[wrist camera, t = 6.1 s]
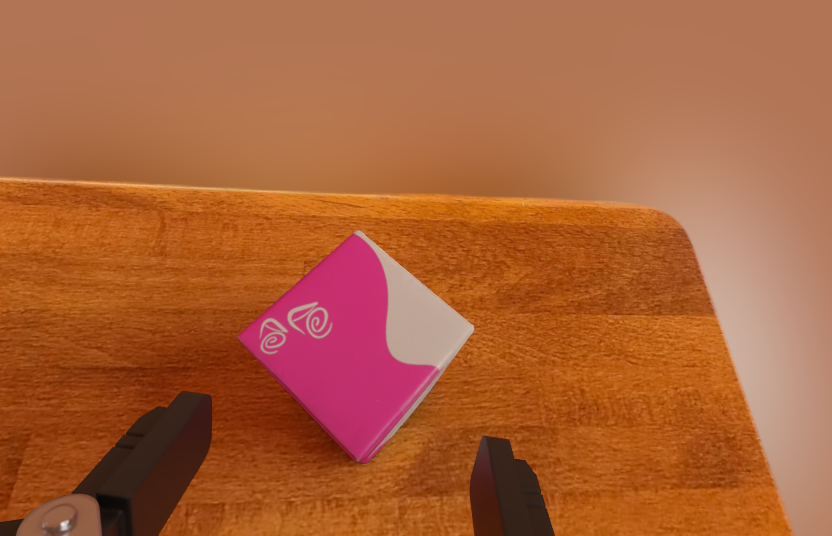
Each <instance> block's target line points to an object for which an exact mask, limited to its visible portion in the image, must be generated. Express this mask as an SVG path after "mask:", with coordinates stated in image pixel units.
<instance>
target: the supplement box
mask: <svg viewBox="0 0 832 536" xmlns="http://www.w3.org/2000/svg"><path fill="white" fill-rule="evenodd" d="M473 331H474V326H473V325H472V324H471V323H469V322H468V321H467V320H466V319H465V318H463V317H462V316H461V315H460V314H459V313H457V312H456V311H455V310H454V309H452V308H451V307H450V306H449V305H448V304H446V303H445V302H444V301H443V300H442V299H440V298H439V297H438V296H437V295H436V294H434V293H433V292H432V291H431V290H429V289H428V288H427V287H426V286H425V285H424V284H422V283H421V282H420V281H419V280H418V279H416V278H415V277H414V276H413V275H411V274H410V273H409V272H408V271H407V270H405V269H404V268H403V267H402V266H401V265H399V264H398V263H397V262H396V261H395V260H394V259H392V258H391V257H390V256H389V255H388V254H387V253H385V252H384V251H383V250H382V249H381V248H380V247H379V246H377V245H376V244H375V243H374V242H373V241H372V240H370V239H369V238H368V237H367V236H366V235H365V234H363V233H362V232H361V231H360V230H357V231H355V232H354V233H353V234H352V235H351V236H350V237H348V238H347V239H346V240H345V241H344V242H343V243H341V244H340V245H339V246H338V247H337V248H336V249H335V250H334V251H332V252H331V253H330V254H329V255H328V256H327V257H326V258H325V259H323V260H322V261H321V262H320V263H319V264H318V265H317V266H316V267H314V268H313V269H312V270H311V271H310V272H309V273H308V274H307V275H305V276H304V277H303V278H302V279H301V280H300V281H299V282H298V283H296V284H295V285H294V286H293V287H292V288H291V289H290V290H289V291H287V292H286V293H285V294H284V295H283V296H282V297H280V298H279V299H278V300H277V301H276V302H275V303H274V304H273V305H272V306H271V307H269V308H268V309H267V310H266V311H265V312H264V313H263V314H261V315H260V316H259V317H258V318H257V319H256V320H255V321H254V322H252V323H251V324H250V325H249V326H248V327H247V328H246V329H244V330H243V331H242V332H241V333H240V334H239V335H238V336H237V337H238V340H239V341H240V343H241V344H242V345H243V346H244V347H245V348H246V349H247V350H248V351H249V352H250V353H251V354H252V355H253V356H254V357H255V358H256V359H257V360H258V362H259V363H260V364H261V365H262V366H263V367H264V368H265V369H266V370H267V371H268V372H269V373H270V374H271V375H272V376H273V377H274V378H275V379H276V381H277V382H278V383H279V384H280V385H281V386H282V387H283V388H284V389H285V390H286V391H287V392H288V393H289V394H290V395H291V396H292V397H293V398H294V399H295V400H296V401H297V402H298V403H299V404H300V405H301V406H302V408H303V409H304V410H305V411H306V412H307V413H308V414H309V415H310V416H311V417H312V418H313V419H314V420H315V421H316V422H317V423H318V424H319V425H320V426H321V428H322V429H323V430H324V431H325V432H326V433H327V434H328V435H329V436H330V437H331V438H332V439H333V440H334V441H335V442H336V443H337V444H338V445H339V446H340V447H341V448H342V449H343V450H344V451H345V452H346V453H347V454H348V455H349V456H350V457H351V458H352V459H353V460H354V461H355V462H360V463H363V464H366V463H368V462H369V461H370V460H371V459H372V458H373V457H374V456H375V455H376V454H377V453H378V452H379V451H380V450H381V449H382V447H383V446H384V445H385V444H386V443H387V442H388V441H389V440H390V438H391V437H392V436H393V435H394V434H395V433H396V432H397V430H398V429H399V428H400V427H401V426H402V425H403V424H404V422H405V421H406V420H407V419H408V418H409V416H410V415H411V414H412V413H413V412H414V411H415V409H416V408H417V407H418V406H419V404H420V403H421V402H422V401H423V399H424V398H425V397H426V396H427V395H428V393H429V392H430V391H431V389H432V388H433V387H434V384H435V383H436V381H437V380H438V379H439V377H440V376H441V375H442V373H443V372H444V370H445V369H446V368H447V366H448V365H449V364H450V362H451V361H452V360H453V358H454V357H455V355H456V354H457V353H458V351H459V350H460V349H461V347H462V346H463V345H464V343H465V342H466V340H467V339H468V338H469V337H470V335H471V334H472V333H473Z"/></svg>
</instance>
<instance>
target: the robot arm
mask: <svg viewBox="0 0 832 536" xmlns="http://www.w3.org/2000/svg"><path fill="white" fill-rule="evenodd" d="M211 437H212V399H211V396H210V395H208V394H201V393H194V392H187V391H182V392H181V393H179V395H178V396H177V397H176V398H175V399H174V400H173V402H172V403H171V404H170V405H169V406H168V408H165V407H156V408H155V409H153V410H151V411H150V412H148V413H146V414H145V415H143V416H142V417H140V418H139V419H138V420H137V421H136V422H135V423H134V424H133V425H132V427H131V428H130V429H129V430H128V431H127V432H126V435H123V437H122V438H121V439H120V440H119V441H118V442H117V443H116V446H115V447H113V448H112V449H111V450H110V451H109V452H108V453H107V454H106V455H105V457H104V458H103V459H102V460H101V461H100V462H99V463H98V464H97V465H96V467H95V468H94V469H93V470H92V471H91V472H90V473H89V474H88V475H87V477H86V478H85V479H84V480H83V481H82V482H81V483H80V484H79V485H78V487H77V488H76V489H75V490H74V491H73V492H72V493H71V494H69V495H64V496H60V497H57V498H54V499H52V500H50V501H48V502H46V503H44V504H42V505H40V506H39V507H37V508H36V509H35V510H33V511H32V512H31V513H30V514H29V515H28V516H27V517H26V518H24V519H19V520H12V521H5V522H0V536H158V535H159V533H160V532H161V530H162V528H163V527H164V525H165V523H166V522H167V520H168V518H169V517H170V515H171V514H172V512H173V510H174V509H175V507H176V505H177V504H178V502H179V500H180V499H181V497H182V496H183V494H184V492H185V491H186V489H187V487H188V486H189V484H190V482H191V481H192V479H193V478H194V476H195V474H196V473H197V471H198V469H199V468H200V466H201V465H202V463H203V461H204V460H205V458H206V456H207V453H208V450H209V447H210V443H211ZM470 502H471V510H472V518H473V526H474V535H475V536H555V535H554V531H553V528H552V525H551V522H550V518H549V515H548V512H547V509H546V508H545V502H544V499H543V495H541V489H540V486H539V482H538V479H537V476H536V474H535V473H534V472H533V470H532V469H531V468H530V466H529V465H528V464H527V462H526V461H525V460H519V459H514V456H513V452H512V448H511V444H510V441H509V440H508V439H503V438H496V437H489V436H483V437H482V439H481V442H480V446H479V449H478V453H477V456H476V460H475V464H474V467H473V471H472V475H471V480H470Z"/></svg>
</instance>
